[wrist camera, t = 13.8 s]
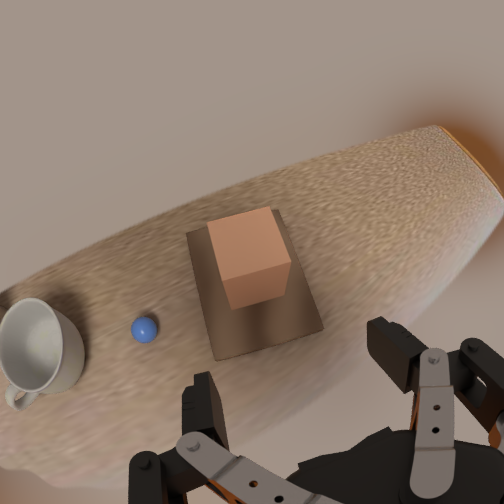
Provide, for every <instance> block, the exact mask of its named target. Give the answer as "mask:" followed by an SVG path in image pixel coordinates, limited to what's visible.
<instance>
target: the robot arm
mask: <svg viewBox="0 0 504 504" xmlns="http://www.w3.org/2000/svg"><path fill="white" fill-rule="evenodd" d="M7 311H8V310H7V309H6V308H4V307H2V306H0V324H1V322H2V319H3V317H4V316H5V314H6V313H7ZM367 348H368V351H369V354H370V355H371V357H372V358H373V359H374V360H375V361H376V362H377V363H378V365H379V366H380V367H381V368H382V369H383V370H384V371H385V372H386V374H388V376H389V377H390V378H391V379H392V380H393V382H394V383H395V384H396V385H397V386H398V387H399V389H400V390H401V391H402V392H403V393H404V394H406V393H407V392H409V391H411V390H412V391H413V392H414V396H413V406H412V415H411V423H410V429H409V430H398V431H393V432H392V430H391V429H390V428H389V427H386V428H384V429H382V430H380V431H378V432H376V433H374V434H372V435H370V436H368V437H366V438H365V439H364V440H362V441H361V442H360V443H358V444H357V445H356V446H354V447H353V448H351V449H350V450H348V451H344V452H339V453H333V454H327V455H321V456H318V457H315V458H313V459H310V460H307V461H304V462H301V463H298V467H299V470H297V471H296V472H294V473H292V474H291V475H290V476H289V477H287V478H286V479H283V478H281V477H279V476H277V475H275V474H273V473H272V472H270V471H268V470H266V469H265V468H263V467H261V466H260V465H258V464H256V463H255V462H253V461H251V460H250V459H248V458H246V457H244V456H241V455H240V456H239V457H237V456H235V455H233V454H232V453H231V452H230V451H229V445H228V440H227V434H226V428H225V421H224V415H223V409H222V403H221V399H220V396H219V393H218V391H217V388H216V386H215V383H214V381H213V379H212V376H211V374H210V372H209V371H207V372H203V373H199V374H194V385H193V386H188V387H186V388H185V390H184V392H183V394H182V437H181V438H180V439H179V440H178V441H177V444H176V447H174V448H173V449H171V450H169V451H167V452H164V453H162V454H159V455H157V454H156V453H154V452H151V451H142V452H139V453H137V454H136V455H135V456H133V458H132V459H131V461H130V463H129V489H128V504H188V501H187V494H186V492H189V491H191V490H194V489H196V488H198V487H200V486H203V485H205V486H206V487H208V488H209V489H210V490H212V491H213V492H214V493H215V494H217V495H218V496H219V497H220V498H222V499H223V500H224V501H226V502H227V503H228V504H504V358H502V357H501V356H500V355H499V354H498V353H496V352H495V351H494V350H493V349H491V348H490V347H489V346H488V345H487V344H485V343H484V342H483V341H482V340H480V339H477V338H468V339H465V340H464V341H463V342H462V343H461V346H460V349H459V350H456V351H452V352H449V353H446V352H445V351H444V350H442V349H439V348H430V349H429V348H428V347H427V346H426V345H424V344H423V343H422V342H421V341H419V339H417V338H416V337H415V336H414V335H412V334H411V333H410V332H409V331H407V329H406V328H404V327H403V326H402V325H400V324H397V323H395V322H391V323H389V322H388V321H387V320H386V319H384V318H383V317H382V316H380V317H378V318H375V319H373V320H370V321H368V322H367ZM477 376H478V377H479V378H480V379H481V380H482V381H483V382H484V383H485V384H486V386H485V385H484V384H483V383H482V382H480V381H479V380H478V379H477ZM454 394H455V395H456V397H457V398H458V399H459V400H460V401H461V402H462V403H463V404H464V405H465V407H466V408H467V409H468V410H469V411H470V412H471V414H472V415H473V416H474V417H475V418H476V419H477V420H478V422H479V423H480V424H481V425H482V426H483V427H484V429H485V430H486V431H487V432H488V433H489V436H488V441H489V443H490V446H486V445H479V444H474V443H468V442H463V441H458V440H454Z"/></svg>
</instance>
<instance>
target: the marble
mask: <svg viewBox="0 0 504 504" xmlns="http://www.w3.org/2000/svg"><path fill="white" fill-rule="evenodd" d="M131 333H132V336H133V337H134V339H135V340H137V341H138V342H140V343H149V342H151V341H153V340H154V339H155V337H156V335H157V326H156V324H155V322H154V321H153V320H152V319H150V318H148V317H139V318H137V319H136V320H134V322H133V323H132V326H131Z"/></svg>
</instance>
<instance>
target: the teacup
mask: <svg viewBox="0 0 504 504" xmlns="http://www.w3.org/2000/svg"><path fill="white" fill-rule="evenodd" d="M84 360H85V352H84V345H83V341H82V338H81V336H80V333H79V331H78V330H77V328H76V327H75V325H74V324H73V323H72V322H71V321H70V320H69V319H68V318H67V317H66V316H64V315H63V314H61V313H60V312H58V311H57V310H55V309H54V308H52V307H50V306H49V305H48V304H47V303H46V302H44V301H43V300H40V299H38V298H32V297H31V298H25V299H22V300H20V301H18V302H17V303H15V304H14V305H13V306H12V307H11V308H10V309H9V310H8V311H7V313H6V314H5V316H4V317H3V319H2V322H1V324H0V366H1V369H2V371H3V373H4V374H5V376H6V378H7V379H8V380H9V382H10V383H11V384H10V385H9V386H8V388H7V390H6V393H5V398H6V401H7V403H8V404H9V405H10V406H11V407H12V408H13V409H15V410H19V411H20V410H24V409H26V408H27V407H28V406H30V405H31V404H32V402H33V401H34V400H35V399H36V397H37V396H38V395H39V394H41V393H43V394H57V393H62V392H64V391H66V390H68V389H70V388H71V387H72V386H73V385H74V384H75V383H76V382H77V380H78V379H79V377H80V375H81V373H82V370H83V366H84ZM21 391H24V392H26V393H25V395H24V396H23V397H21V398H20V399H18V400H16V401H15V397H16V396H17V394H18V393H19V392H21Z"/></svg>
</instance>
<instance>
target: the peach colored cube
mask: <svg viewBox="0 0 504 504" xmlns="http://www.w3.org/2000/svg"><path fill="white" fill-rule="evenodd" d="M207 225H208V229H209V233H210V237H211V241H212V245H213V249H214V253H215V256H216V260H217V264H218V268H219V272H220V275H221V279H222V282H223V286H224V289H225V292H226V295H227V298H228V301H229V304H230V307H231V310H235V309H238V308H242V307H245V306H249V305H252V304H256V303H259V302H263V301H266V300H270V299H273V298H276V297H280V296H283V295H284V294H285V290H286V285H287V280H288V275H289V271H290V266H291V259H290V257H289V254H288V252H287V249H286V247H285V244H284V241H283V239H282V236H281V234H280V231H279V229H278V226H277V224H276V221H275V219H274V216H273V214H272V211H271V209H270V206H268V207H264V208H260V209H256V210H252V211H248V212H244V213H240V214H236V215H232V216H229V217H225V218H221V219H217V220H214V221H210V222H207Z"/></svg>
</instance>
